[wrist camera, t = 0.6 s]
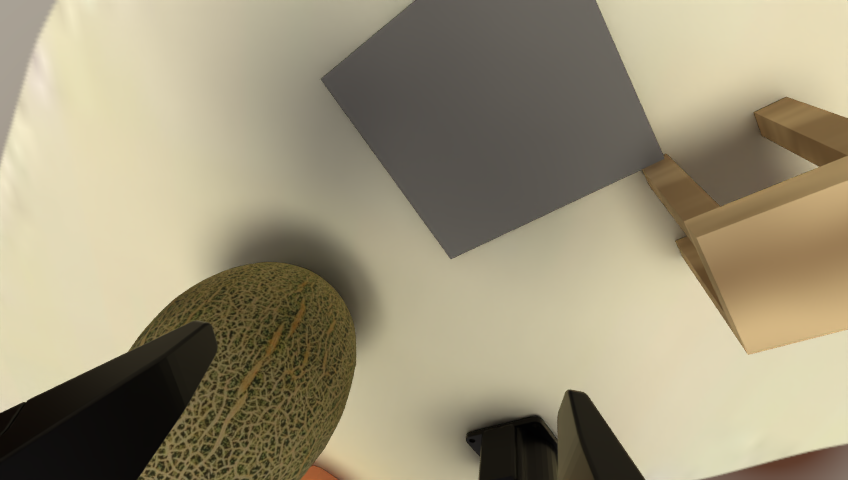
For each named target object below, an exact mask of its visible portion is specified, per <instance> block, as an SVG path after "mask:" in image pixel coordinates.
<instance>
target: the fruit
mask: <svg viewBox="0 0 848 480" xmlns="http://www.w3.org/2000/svg"><path fill="white" fill-rule="evenodd" d="M196 320H198V321H203V322H208V323H210V324H211V325H212V327H213V330H214V333H215V337H216V340H217V344H218V349H217V353H216V355H215V357H214V359H213V361H212V363H211V364H210V366H209V368H208V370H207V372H206V374H205V375H204V377H203V379H202V381H201V383H200V384H199V386H198V388H197V390H196V392H195V393H194V395H193V397H192V399H191V400H190V402H189V404H188V406H187V407H186V409H185V410H184V412H183V413H182V415H181V416H180V418H179V419H178V421H177V422H176V424H175V425H174V427H173V428H172V430H171V431H170V433H169V434H168V435H167V437H166V438H165V440H164V441H163V443H162V444H161V446H160V447H159V449H158V450H157V452H156V453H155V454H154V456H153V457H152V459H151V460H150V462H149V463H148V465H147V466H146V468H145V469H144V471H143V472H142V473H141V475H140V476H139V478H138V479H137V480H300V479H301V478H302V477H303V476H304V475H305V474H306V472H307V471H308V469H309V468H310V467H311V466H312V464H313V463H314V462H315V460H316V459H317V458H318V456H319V455H320V454H321V453H322V451H323V450H324V449H325V447H326V445H327V443H328V441H329V440H330V438H331V436H332V434H333V432H334V430H335V428H336V427H337V425H338V422H339V420H340V418H341V416H342V414H343V411H344V408H345V405H346V402H347V399H348V395H349V392H350V388H351V384H352V380H353V376H354V370H355V366H356V336H355V329H354V324H353V320H352V317H351V315H350V312H349V310H348V308H347V306H346V305H345V303H344V301H343V299H342V298H341V297H340V295H339V294H338V292H337V291H336V290H335V289H334V288H333V287H332V286H331V285H330V284H329V283H328V282H326V281H325V280H324V279H323V278H321V277H320V276H319V275H317V274H315V273H313V272H312V271H310V270H308V269H305V268H302V267H299V266H295V265H291V264H287V263H278V262H262V263H255V264H249V265H244V266H239V267H235V268H232V269H229V270H226V271H223V272H221V273H218V274H216V275H214V276H211V277H209V278H207V279H205V280H203V281H201V282H200V283H198V284H196V285H194V286H193V287H191V288H189V289H188V290H187V291H185V292H184V293H182V294H181V295H179V296H178V297H177V298H175V299H174V300H173V301H172V302H171V303H170V304H168V305H167V306H166V307H165V308H164V309H163V310H162V311H161V312H160V313H159V314H158V315H157V316H156V317H155V318H154V319H153V321H152V322H151V323H150V324H149V325H148V326H147V327H146V328H145V330H144V331H143V332H142V333H141V335H140V336H139V337H138V338H137V340H136V341H135V343H134V344H133V345H132V347H131V348H130V350H129V351H131V350H133V349H135V348H137V347H139V346H142V345H144V344H146V343H148V342H150V341H152V340H154V339H156V338H158V337H160V336H162V335H165V334H167V333H169V332H171V331H173V330H175V329H177V328H179V327H181V326H183V325H185V324H187V323H190V322H192V321H196ZM129 351H128V352H129Z"/></svg>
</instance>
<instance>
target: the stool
mask: <svg viewBox="0 0 848 480" xmlns="http://www.w3.org/2000/svg"><path fill="white" fill-rule="evenodd" d="M754 114H755V117H756V120H757V123H758V126H759V129H760V132H761V135H762V136H763V137H765V138H767V139H769V140H771V141H773V142H775V143H776V144H778V145H780V146H782V147H784V148H786V149H788V150H789V151H791V152H793V153H795V154H797V155H799V156H801V157H802V158H804V159H806V160H808V161H810V162H812V163H814V164H816V165H817V166H819V167H818V168H816V169H813V170H811V171H808V172H806V173H803V174H801V175H798V176H796V177H793V178H791V179H788V180H786V181H783V182H781V183H778V184H776V185H773V186H771V187H768V188H766V189H763V190H761V191H758V192H756V193H753V194H751V195H748V196H746V197H743V198H741V199H738V200H736V201H733V202H731V203H728V204H726V205H723V206H721V207H720V206H719V205H718V204H717V203H716V202H715V201H714V200H713V199H712V198H711V197H710V196H709V195H708V194H707V193H706V192H705V191H704V190H703V189H702V188H701V187H700V186H699V185H698V184H697V183H696V182H695V181H694V180H693V179H692V178H691V177H690V176H689V175H688V174H687V173H686V172H685V171H684V170H683V169H682V168H680V167H679V166H678V165H677V164H676V163H675V162H674V161H673V160H672V159H671V158H670V157H669V156H668V155H667V154H665V155H663V156H664V158H665V159H663V160H661V161H659V162H657V163H655V164H652V165H650V166H648V167H646V168H644V169H642V171H643V173H644V175H645V177H646V179H647V181H648V184H649V186H650V187H651V188H652V190H653V191H654V192H655V194H656V195H657V196H658V198H659V199H660V200H661V202H662V203H663V204H664V206H665V207H666V208H667V210H668V211H669V212H670V214H671V215H672V216H673V218H674V219H675V220H676V222H677V223H678V224H679V226H680V227H681V228H682V230H683V231H684V232H685V234H686V235H687V236H686V237H684V238H681V239H679V240H676V241H675V242H676V244H677V246H678V248H679V250H680V252H681V254H682V257H683V258H684V260H685V261H686V263H687V264H688V266H689V267H690V269H691V270H692V272H693V273H694V275H695V276H696V278H697V279H698V281H699V282H700V284H701V285H702V287H703V288H704V290H705V291H706V293H707V294H708V296H709V297H710V299H711V300H712V302H713V303H714V305H715V306H716V308H717V309H718V311H719V312H720V314H721V315H722V317H723V318H724V320H725V321H726V323H727V324H728V326H729V327H730V329H731V330H732V332H733V333H734V335H735V336H736V338H737V339H738V340H739V342H740V343H741V345H742V346H743V348H744V349H745V351H746V352H747V354H748V355H749V354H753V353H757V352H761V351H765V350H769V349H773V348H777V347H781V346H785V345H788V344H792V343H796V342H800V341H804V340H808V339H812V338H816V337H820V336H824V335H828V334H832V333H836V332H840V331H843V330H847V329H848V118H845V117H843V116H840V115H837V114H834V113H831V112H828V111H825V110H823V109H820V108H817V107H814V106H811V105H808V104H805V103H802V102H800V101H797V100H794V99H791V98H788V97H785V98H783V99H781V100H779V101H777V102H775V103H773V104H771V105H768V106H766V107H764V108H762V109H760V110H758V111H756V112H754Z"/></svg>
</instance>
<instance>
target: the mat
mask: <svg viewBox="0 0 848 480" xmlns="http://www.w3.org/2000/svg"><path fill="white" fill-rule="evenodd" d="M321 81H322V82H323V83H324V85H325V86H326V87H327V89H328V90H329V92H330V93H331V94H332V96H333V97H334V99H335V100H336V101H337V103H338V104H339V105H340V107H341V108H342V110H343V111H344V112H345V114H346V115H347V116H348V118H349V119H350V121H351V122H352V123H353V125H354V126H355V128H356V129H357V130H358V132H359V133H360V134H361V136H362V137H363V139H364V140H365V141H366V143H367V144H368V145H369V147H370V148H371V150H372V151H373V152H374V154H375V155H376V157H377V158H378V159H379V161H380V162H381V163H382V165H383V166H384V168H385V169H386V170H387V172H388V173H389V174H390V176H391V177H392V179H393V180H394V181H395V183H396V184H397V186H398V187H399V188H400V190H401V191H402V192H403V194H404V195H405V197H406V198H407V199H408V201H409V202H410V204H411V205H412V206H413V208H414V209H415V210H416V212H417V213H418V215H419V216H420V217H421V219H422V220H423V221H424V223H425V224H426V226H427V227H428V228H429V230H430V231H431V233H432V234H433V235H434V237H435V238H436V239H437V241H438V242H439V244H440V245H441V246H442V248H443V249H444V250H445V252H446V253H447V255H448V256H449V257H450V259H452V258H454V257H457V256H459V255H461V254H463V253H465V252H467V251H469V250H471V249H474V248H476V247H478V246H480V245H482V244H484V243H486V242H488V241H491V240H493V239H495V238H497V237H499V236H501V235H503V234H505V233H508V232H510V231H512V230H514V229H516V228H518V227H520V226H523V225H525V224H527V223H529V222H531V221H533V220H535V219H537V218H540V217H542V216H544V215H546V214H548V213H550V212H552V211H554V210H557V209H559V208H561V207H563V206H565V205H567V204H569V203H572V202H574V201H576V200H578V199H580V198H582V197H584V196H586V195H589V194H591V193H593V192H595V191H597V190H599V189H601V188H603V187H606V186H608V185H610V184H612V183H614V182H616V181H618V180H620V179H623V178H625V177H627V176H629V175H631V174H633V173H635V172H638V171H640V170H642V169H644V168H646V167H648V166H650V165H652V164H655V163H657V162H659V161H661V160H663V159H665V158H664V156H663V153H662V151H661V149H660V147H659V144H658V142H657V140H656V137H655V135H654V133H653V131H652V128H651V126H650V124H649V121H648V119H647V117H646V115H645V112H644V110H643V108H642V105H641V103H640V101H639V99H638V96H637V94H636V92H635V89H634V87H633V85H632V83H631V80H630V78H629V76H628V73H627V71H626V69H625V67H624V64H623V62H622V60H621V57H620V55H619V53H618V51H617V48H616V46H615V44H614V41H613V39H612V37H611V35H610V32H609V30H608V28H607V25H606V23H605V21H604V19H603V16H602V14H601V12H600V9H599V7H598V5H597V3H596V0H415V1H414V2H413V3H412V4H410V5H409V6H408V7H407V8H406V9H404V10H403V11H402V12H401V13H399V14H398V15H397V16H396V17H395V18H393V19H392V20H391V21H390V22H389V23H387V24H386V25H385V26H384V27H383V28H381V29H380V30H379V31H378V32H377V33H375V34H374V35H373V36H372V37H371V38H369V39H368V40H367V41H366V42H365V43H363V44H362V45H361V46H360V47H359V48H357V49H356V50H355V51H354V52H353V53H351V54H350V55H349V56H348V57H347V58H345V59H344V60H343V61H342V62H341V63H339V64H338V65H337V66H336V67H335V68H333V69H332V70H331V71H330V72H329V73H327V74H326V75H325V76H324V77H322V78H321Z"/></svg>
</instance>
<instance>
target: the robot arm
mask: <svg viewBox="0 0 848 480" xmlns="http://www.w3.org/2000/svg"><path fill="white" fill-rule="evenodd" d="M217 349H218V344H217V340H216V337H215V333H214V330H213V327H212V325H211V324H210V323H208V322H203V321H198V320H196V321H192V322H190V323H187V324H185V325H183V326H181V327H179V328H177V329H175V330H173V331H171V332H169V333H167V334H165V335H162V336H160V337H158V338H156V339H154V340H152V341H150V342H148V343H146V344H144V345H142V346H139V347H137V348H135V349H133V350H131V351H129V352H127V353H125V354H123V355H121V356H119V357H117V358H114V359H112V360H110V361H108V362H106V363H104V364H102V365H100V366H98V367H96V368H94V369H92V370H89V371H87V372H85V373H83V374H81V375H79V376H77V377H75V378H73V379H71V380H69V381H66V382H64V383H62V384H60V385H58V386H56V387H54V388H52V389H50V390H48V391H46V392H44V393H41V394H39V395H37V396H35V397H33V398H31V399H29V400H28V401H27V402H23V403H20V404H18V405H16V406H14V407H12V408H10V409H8V410H6V411H4V412H2V413H0V480H137V479H138V478H139V476H140V475H141V473H142V472H143V471H144V469H145V468H146V466H147V465H148V463H149V462H150V460H151V459H152V457H153V456H154V454H155V453H156V452H157V450H158V449H159V447H160V446H161V444H162V443H163V441H164V440H165V438H166V437H167V435H168V434H169V433H170V431H171V430H172V428H173V427H174V425H175V424H176V422H177V421H178V419H179V418H180V416H181V415H182V413H183V412H184V410H185V409H186V407H187V406H188V404H189V402H190V400H191V399H192V397H193V395H194V393H195V392H196V390H197V388H198V386H199V384H200V383H201V381H202V379H203V377H204V375H205V374H206V372H207V370H208V368H209V366H210V364H211V363H212V361H213V359H214V357H215V355H216V353H217ZM557 430H558V440H557V439H556V437H555V436H554V435H553V433H552V432H551V431H550V429H549V428H548V427H547V426H546V424H545V423H544V422H543V420H542V419H541V418H539V417H530V418H526V419H522V420H518V421H514V422H510V423H506V424H502V425H498V426H494V427H490V428H486V429H482V430H477V431H473V432H469V433H467V435H466V441H467V443H468V444H469V445H470V446H471V447H472V448H473V450H474V451H475V452H476V453H477V454H478V455H479V456H480V468H479V480H645V478H644V477H643V476H642V474H641V473H640V471H639V470H638V468H637V467H636V465H635V464H634V462H633V461H632V459H631V458H630V457H629V455H628V454H627V452H626V451H625V449H624V448H623V446H622V445H621V443H620V442H619V440H618V439H617V437H616V436H615V435H614V433H613V432H612V430H611V429H610V427H609V426H608V424H607V423H606V421H605V420H604V418H603V417H602V416H601V414H600V413H599V411H598V410H597V408H596V407H595V405H594V404H593V402H592V401H591V399H590V398H589V397H588V395H587V394H586V393H584V392H581V391H576V390H567V391H566V392H565V395H564V398H563V400H562V403H561V406H560V409H559V412H558V419H557Z"/></svg>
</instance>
